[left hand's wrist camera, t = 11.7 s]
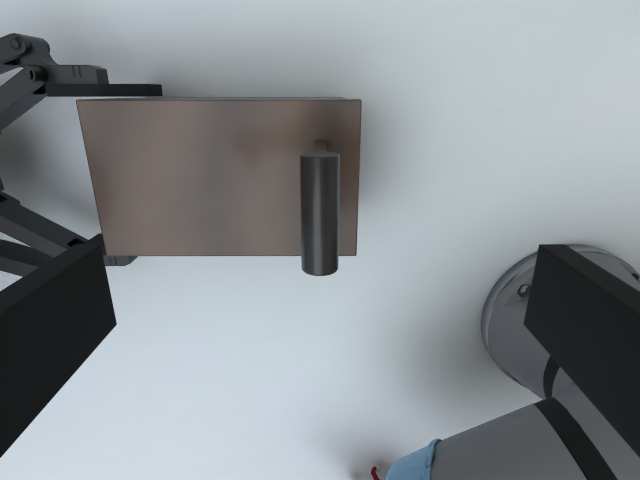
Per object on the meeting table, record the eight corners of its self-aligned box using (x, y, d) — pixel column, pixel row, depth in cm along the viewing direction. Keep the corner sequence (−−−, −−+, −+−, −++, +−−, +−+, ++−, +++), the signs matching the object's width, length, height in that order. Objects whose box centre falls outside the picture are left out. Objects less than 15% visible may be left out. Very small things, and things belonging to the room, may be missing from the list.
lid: (359, 99, 25) (380, 103, 17) (355, 250, 28) (369, 316, 20) (85, 99, 25) (-32, 103, 17) (113, 250, 28) (28, 316, 20)
